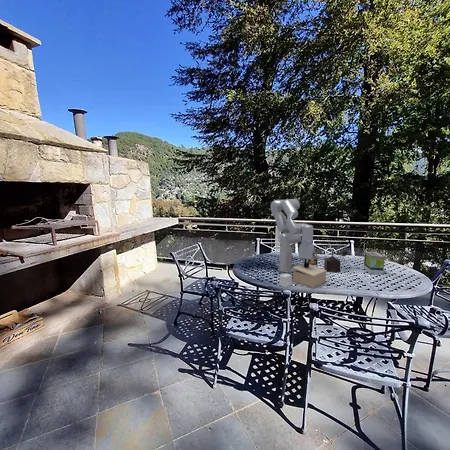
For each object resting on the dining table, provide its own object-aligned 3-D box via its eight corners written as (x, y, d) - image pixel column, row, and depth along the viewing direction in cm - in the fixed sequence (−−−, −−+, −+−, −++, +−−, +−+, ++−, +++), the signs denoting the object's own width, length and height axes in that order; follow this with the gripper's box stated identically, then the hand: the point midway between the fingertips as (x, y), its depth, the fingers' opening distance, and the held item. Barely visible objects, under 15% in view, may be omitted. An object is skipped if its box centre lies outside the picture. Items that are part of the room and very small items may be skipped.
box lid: (292, 268, 178) (293, 267, 177) (306, 264, 188) (306, 262, 188) (313, 276, 165) (313, 275, 165) (326, 271, 176) (326, 270, 176)
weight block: (279, 285, 173) (279, 275, 172) (285, 282, 177) (285, 273, 176) (285, 287, 169) (285, 277, 168) (291, 284, 174) (291, 275, 173)
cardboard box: (293, 281, 179) (293, 271, 178) (305, 276, 189) (306, 266, 188) (313, 288, 167) (313, 276, 166) (325, 282, 177) (326, 271, 176)
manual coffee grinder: (326, 272, 200) (327, 250, 198) (323, 268, 211) (324, 247, 208) (347, 273, 198) (348, 251, 195) (343, 268, 208) (344, 247, 206)
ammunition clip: (304, 264, 221) (305, 251, 219) (304, 264, 222) (304, 251, 221) (317, 265, 219) (318, 251, 218) (316, 264, 221) (317, 251, 220)
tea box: (383, 274, 193) (385, 256, 191) (369, 274, 195) (371, 255, 193) (376, 269, 208) (377, 251, 206) (363, 268, 210) (364, 251, 208)
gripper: (294, 241, 180) (294, 266, 182) (313, 244, 168) (313, 270, 170) (300, 240, 184) (300, 264, 186) (319, 243, 173) (318, 268, 175)
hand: (306, 267), depth 178 cm, fingers closed
